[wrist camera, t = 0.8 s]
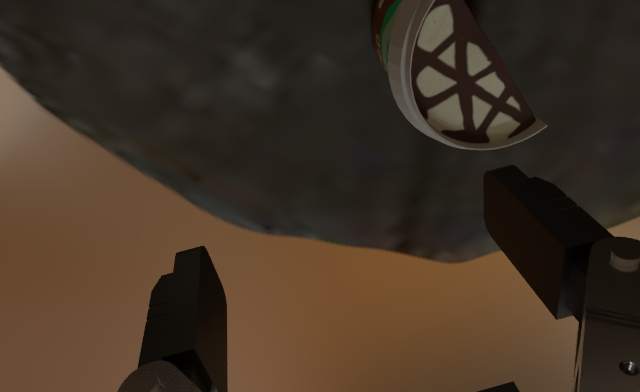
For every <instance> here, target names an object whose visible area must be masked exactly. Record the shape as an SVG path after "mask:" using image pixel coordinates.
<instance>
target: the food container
mask: <svg viewBox="0 0 640 392" xmlns="http://www.w3.org/2000/svg"><path fill="white" fill-rule="evenodd" d="M371 25H372V43H373V47H374V50H375V53H376V55H377V58H378V60H379V62H380V63H381V65H382V66H383V68H384V69H385V71H386V72H387V73H388V75H389V80H390V85H391V89H392V93H393V95H394V98H395V100H396V102H397V105H398V107H399V108H400V110H401V111H402V113H403V114H404V116H405V117H406V118H407V119H408V120H409V122H410V123H411V124H412V125H413V126H414V127H415V128H417V129H418V130H420V131H421V132H423V133H424V134H426V135H427V136H429V137H432V138H434V139H436V140H438V141H440V142H442V143H445V144H447V145H449V146H453V147H457V148H461V149H471V150H491V149H498V148H503V147H507V146H510V145H513V144H516V143H519V142H521V141H524V140H525V139H527V138H529V137H531V136H533V135H535V134H537V133H538V132H540V131H541V130H543V129H544V128H546V127H547V125H546V124H545V123H543V122H542V121H541V120H539V119H538V118H537V117H535V116H534V115H533V113H532V111H531V110H530V109H529V107H528V106H527V104H526V103H525V101H524V99H523V98H522V96H521V94H520V93H519V91H518V89H517V87H516V86H515V84H514V82H513V80H512V79H511V77H510V75H509V73H508V71H507V69H506V67H505V65H504V64H503V62H502V60H501V58H500V56H499V55H498V53H497V52H496V50H495V49H494V47H493V46H492V44H491V43H490V41H489V40H488V38H487V37H486V35H485V33H484V32H483V30H482V29H481V27H480V26H479V24H478V22H477V21H476V19H475V18H474V16H473V14H472V13H471V11H470V9H469V8H468V6H467V4H466V3H465V1H464V0H377V3H376V7H375V11H374V15H373V19H372V23H371Z"/></svg>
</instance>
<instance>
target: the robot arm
mask: <svg viewBox="0 0 640 392" xmlns="http://www.w3.org/2000/svg"><path fill="white" fill-rule="evenodd" d="M484 221H485V225H486V228H487V230H488V232H489V234H490V236H491V237H492V238H493V240H494V241H495V242H496V244H497V245H498V246H499V247H500V249H501V250H502V251H503V252H504V254H505V255H506V256H507V257H508V259H509V260H510V261H511V263H512V264H513V265H514V266H515V268H516V269H517V270H518V271H519V273H520V274H521V275H522V276H523V278H524V279H525V280H526V282H527V283H528V284H529V285H530V287H531V288H532V289H533V290H534V292H535V293H536V294H537V296H538V297H539V298H540V299H541V301H542V302H543V303H544V304H545V306H546V307H547V308H548V310H549V311H550V312H551V313H552V315H553V316H554V317H555V319H556V320H558V319H561V318H565V317H568V316H572V315H573V316H574V317H575V318H576V319H577V320H578V322H579V324H578V331H577V340H576V349H575V359H574V369H573V379H572V388H571V392H640V241H639V240H636V239H632V238H627V237H614V236H613V235H612V234H610V233H609V232H608V231H607V230H606V229H605V228H604V227H603V226H601V225H600V224H599V223H598V222H597V221H596V220H595V219H593V218H592V217H591V216H590V215H589V214H588V213H586V212H585V211H584V210H583V209H582V208H581V207H580V206H578V207H577V204H576V203H575V202H574V201H573V200H572V199H570V198H569V197H568V198H567V196H566V194H565V193H563V192H562V191H561V190H560V189H559V188H558V187H557V186H555V185H554V184H552V183H550V182H547V181H545V180H543V179H540V178H538V177H533V178H528V177H527V176H526V175H525V174H524V173H523V172H522V171H521V170H520V169H518V168H517V167H516V166H515V165H508V166H505V167H501V168H497V169H493V170H490V171H486V172H485V174H484ZM149 308H150V309H149V310H148V314H147V322H146V325H145V331H144V336H143V342H142V347H141V352H140V358H139V363H138V368H137V369H136V370H135V371H133V372H132V373H131V374H130V375H129V376H128V377H127V378H126V379H125V380H124V382H123V383H122V384H121V386H120V388H119V390H118V392H227V304H226V297H225V293H224V289H223V286H222V284H221V281H220V279H219V277H218V274H217V272H216V270H215V268H214V265H213V263H212V261H211V258H210V256H209V254H208V252H207V250H206V248H205V247H204V246H200V247H196V248H193V249H189V250H185V251H181V252H178V253H176V256H175V263H174V270H173V273H170V274H166V275H162V276H161V278H160V279H159V281H158V282H157V284H156V285H155V287H154V289H153V290H152V292H151V298H150V303H149ZM478 392H519V390H518V388H517V387H516V385H515V383H514V382H510V383H506V384H503V385H499V386H496V387H492V388H489V389H485V390H481V391H478Z"/></svg>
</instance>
